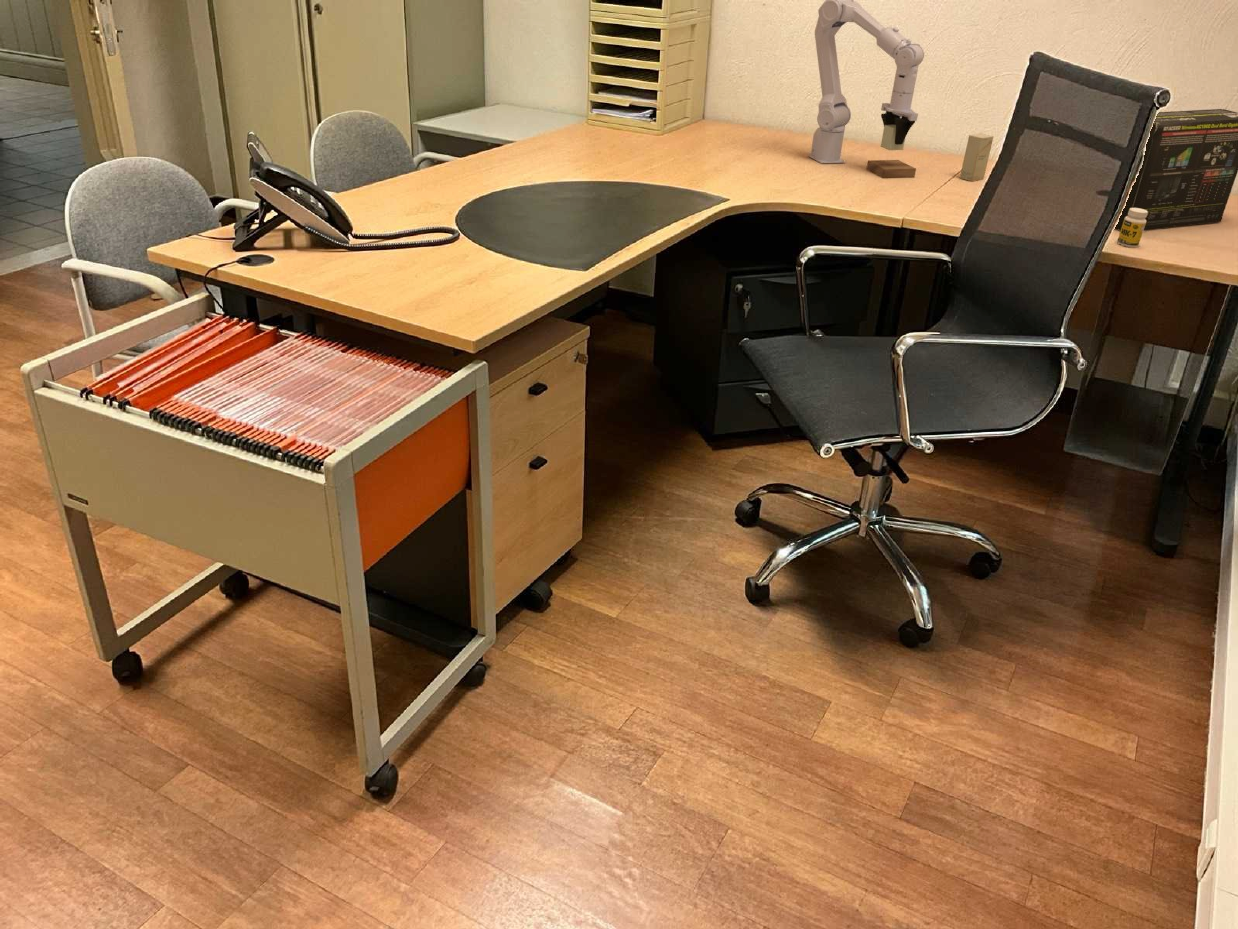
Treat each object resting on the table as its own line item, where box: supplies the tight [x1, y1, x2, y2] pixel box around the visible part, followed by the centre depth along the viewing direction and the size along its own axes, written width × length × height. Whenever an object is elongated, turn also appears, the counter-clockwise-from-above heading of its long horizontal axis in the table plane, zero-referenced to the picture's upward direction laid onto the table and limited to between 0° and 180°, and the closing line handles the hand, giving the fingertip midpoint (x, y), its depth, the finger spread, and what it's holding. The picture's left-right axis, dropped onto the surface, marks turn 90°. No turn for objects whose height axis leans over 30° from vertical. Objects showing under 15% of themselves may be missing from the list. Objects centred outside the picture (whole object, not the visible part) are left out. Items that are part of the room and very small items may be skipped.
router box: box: [1115, 108, 1238, 231], centre depth 248 cm, size 36×11×27 cm, turn 114°
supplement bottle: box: [1116, 208, 1148, 248], centre depth 234 cm, size 5×5×8 cm
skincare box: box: [959, 133, 994, 182], centre depth 281 cm, size 6×4×12 cm
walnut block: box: [866, 159, 917, 180], centre depth 284 cm, size 10×10×3 cm
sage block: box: [880, 124, 906, 151], centre depth 279 cm, size 4×4×6 cm
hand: (893, 141), depth 280 cm, fingers closed on sage block, 4 cm apart
